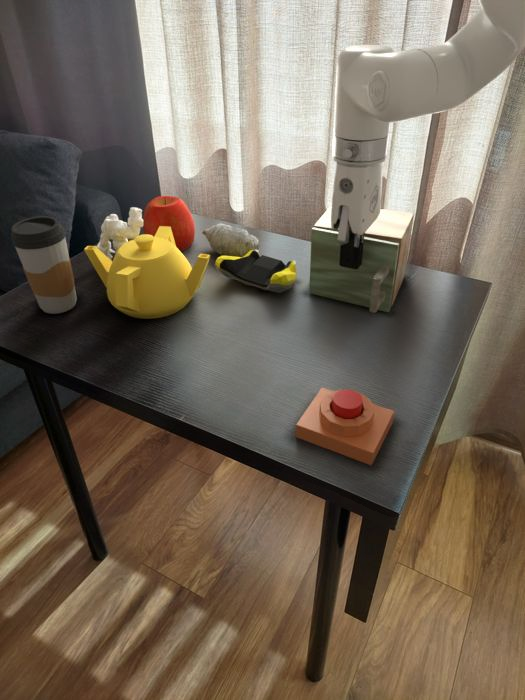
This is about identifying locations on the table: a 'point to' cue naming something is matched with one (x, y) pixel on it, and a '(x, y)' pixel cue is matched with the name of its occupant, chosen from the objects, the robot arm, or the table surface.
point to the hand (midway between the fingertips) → (350, 265)
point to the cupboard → (385, 236)
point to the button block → (345, 427)
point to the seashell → (231, 240)
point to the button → (347, 404)
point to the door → (353, 271)
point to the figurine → (119, 231)
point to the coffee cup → (46, 262)
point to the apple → (170, 220)
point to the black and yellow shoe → (259, 271)
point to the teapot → (149, 275)
